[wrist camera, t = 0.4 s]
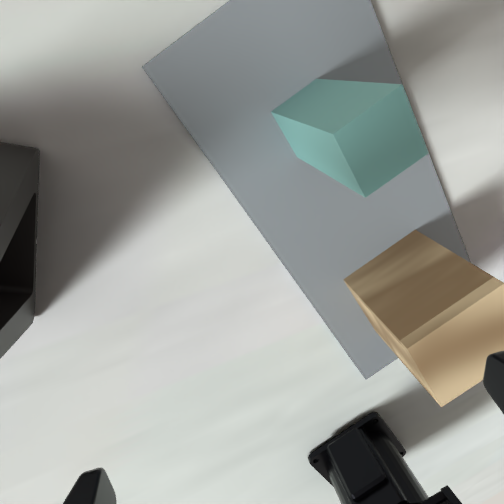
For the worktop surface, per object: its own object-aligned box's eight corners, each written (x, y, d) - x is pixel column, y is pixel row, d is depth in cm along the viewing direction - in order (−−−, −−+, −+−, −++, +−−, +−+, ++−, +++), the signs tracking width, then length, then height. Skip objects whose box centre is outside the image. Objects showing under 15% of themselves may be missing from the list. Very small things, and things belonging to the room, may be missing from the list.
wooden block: (441, 286, 26) (526, 350, 20) (375, 331, 26) (441, 407, 20) (415, 229, 23) (504, 283, 17) (343, 279, 24) (407, 348, 18)
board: (480, 296, 28) (484, 299, 27) (363, 375, 28) (365, 379, 28) (334, -79, 16) (338, -83, 16) (142, 66, 17) (141, 66, 16)
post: (339, 126, 19) (428, 153, 13) (296, 157, 20) (365, 197, 13) (316, 78, 18) (402, 84, 12) (270, 112, 18) (332, 134, 12)
